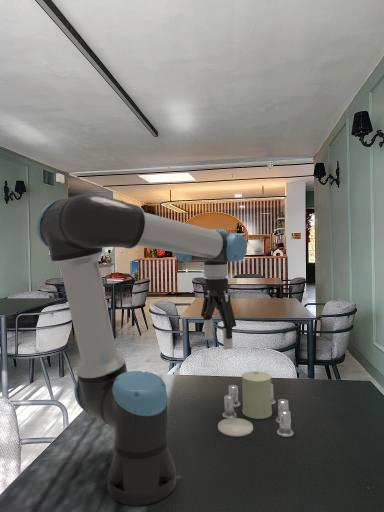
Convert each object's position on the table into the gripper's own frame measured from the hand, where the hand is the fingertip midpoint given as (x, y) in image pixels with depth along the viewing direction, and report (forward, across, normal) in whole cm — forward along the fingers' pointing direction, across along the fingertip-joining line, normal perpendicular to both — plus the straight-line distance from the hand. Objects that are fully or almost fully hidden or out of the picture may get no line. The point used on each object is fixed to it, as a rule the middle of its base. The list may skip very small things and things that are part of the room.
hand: (218, 343), depth 121 cm
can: (+21, -8, -9) cm, 24 cm away
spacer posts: (+21, -11, -7) cm, 24 cm away
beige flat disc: (+21, -14, +2) cm, 25 cm away
